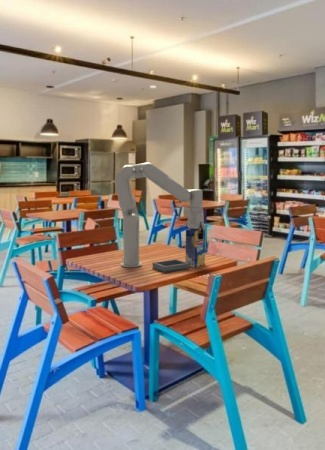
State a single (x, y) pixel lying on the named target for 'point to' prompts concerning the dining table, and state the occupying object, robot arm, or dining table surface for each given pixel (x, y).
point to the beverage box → (195, 248)
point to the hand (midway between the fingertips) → (195, 238)
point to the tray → (170, 265)
